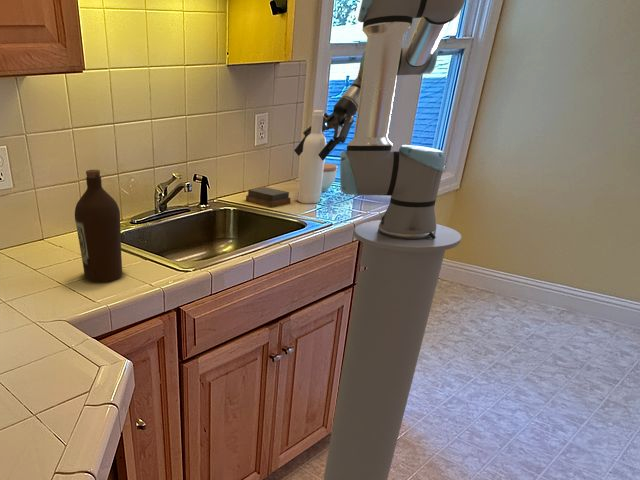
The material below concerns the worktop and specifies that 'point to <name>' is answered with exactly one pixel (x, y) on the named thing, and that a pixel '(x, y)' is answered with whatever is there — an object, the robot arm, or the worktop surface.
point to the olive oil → (99, 231)
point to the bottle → (312, 162)
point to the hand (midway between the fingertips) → (308, 155)
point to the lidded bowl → (328, 176)
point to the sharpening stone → (268, 197)
